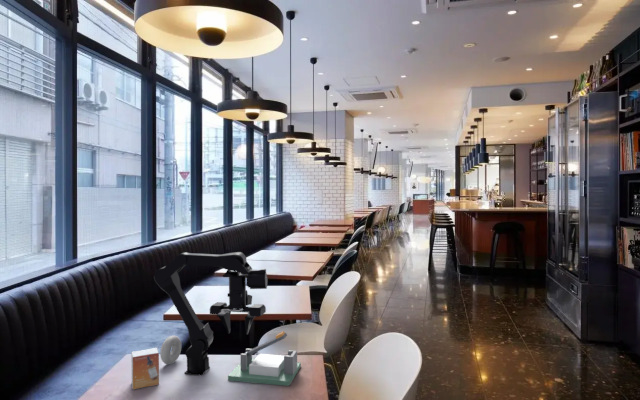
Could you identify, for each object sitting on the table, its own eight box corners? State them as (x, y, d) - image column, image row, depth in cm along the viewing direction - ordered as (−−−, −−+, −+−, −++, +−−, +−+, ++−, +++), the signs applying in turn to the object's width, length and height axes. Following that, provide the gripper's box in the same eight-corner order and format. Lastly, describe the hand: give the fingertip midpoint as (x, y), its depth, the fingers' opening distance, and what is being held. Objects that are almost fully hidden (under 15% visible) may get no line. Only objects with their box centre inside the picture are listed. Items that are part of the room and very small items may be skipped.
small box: (132, 390, 129) (131, 357, 129) (131, 383, 134) (131, 351, 134) (159, 384, 133) (159, 352, 133) (157, 377, 138) (157, 346, 138)
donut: (166, 369, 144) (166, 341, 144) (158, 368, 145) (157, 340, 145) (183, 358, 154) (183, 332, 154) (175, 357, 155) (175, 331, 155)
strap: (243, 358, 141) (241, 353, 141) (247, 355, 144) (244, 350, 144) (284, 338, 138) (282, 333, 138) (287, 335, 141) (284, 330, 141)
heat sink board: (227, 380, 136) (227, 357, 136) (245, 362, 150) (245, 341, 150) (288, 385, 131) (288, 362, 131) (300, 366, 146) (300, 345, 146)
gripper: (270, 284, 148) (271, 327, 149) (222, 283, 152) (223, 325, 153) (259, 292, 137) (260, 338, 138) (208, 290, 141) (209, 335, 142)
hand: (238, 333), depth 143 cm, fingers open, 6 cm apart
